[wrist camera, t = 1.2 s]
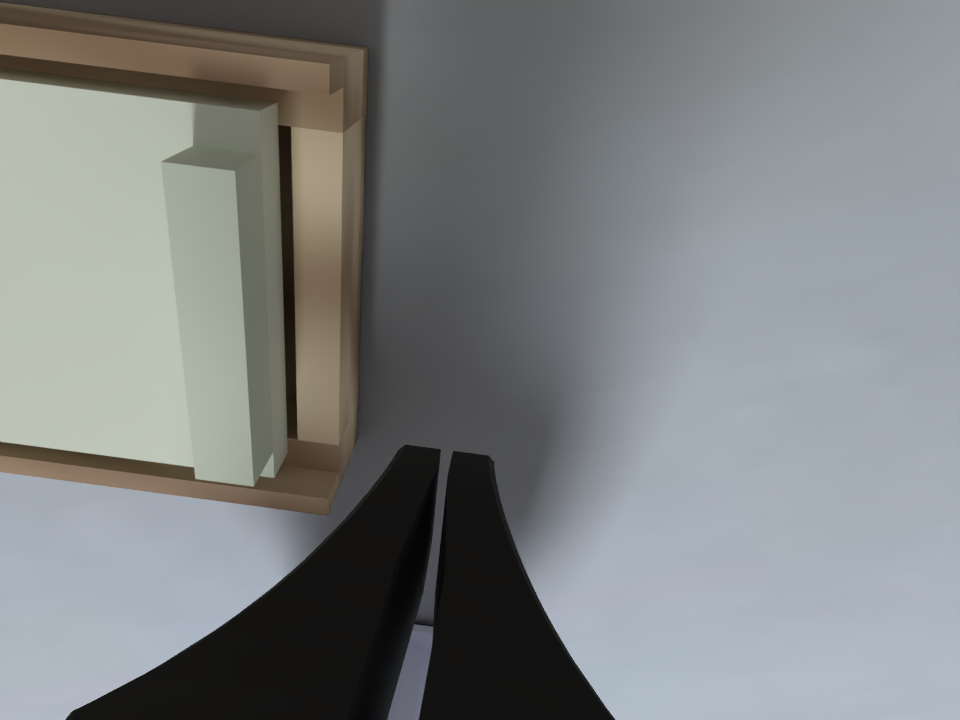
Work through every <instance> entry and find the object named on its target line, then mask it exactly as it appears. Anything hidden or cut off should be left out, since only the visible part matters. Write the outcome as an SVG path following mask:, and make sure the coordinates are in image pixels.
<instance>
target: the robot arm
mask: <svg viewBox="0 0 960 720" xmlns="http://www.w3.org/2000/svg"><path fill="white" fill-rule="evenodd" d="M440 453H441V449H434V448H426V447H419V446H411V445H405V446H403V447H402V448H400V449H399V450H398V452H397V453H396V455H395V457H394V458H393V460H392V461H391V463H390V464H389V466H388V467H387V468H386V470H385V471H384V472H383V474H382V475H381V477H380V478H379V479H378V480H377V482H376V483H375V484H374V485H373V487H372V488H371V489H370V491H369V492H368V493H367V494H366V495H365V496H364V498H363V499H362V500H361V501H360V502H359V503H358V505H357V506H356V507H355V508H354V509H353V510H352V512H351V513H350V514H349V515H348V516H347V517H346V518H345V520H344V521H343V522H342V523H341V524H340V525H339V526H338V527H337V528H336V529H335V530H334V531H333V532H332V533H331V534H330V535H329V536H328V537H327V538H326V539H325V540H324V541H323V542H322V543H321V544H320V545H319V546H318V547H317V548H316V549H315V550H314V551H313V552H312V553H311V554H310V555H309V556H308V557H307V558H306V559H305V560H304V561H303V562H301V563H300V564H299V565H298V566H297V567H296V568H295V569H294V570H293V571H291V572H290V573H289V574H288V575H287V576H286V577H284V578H283V579H282V580H281V581H280V582H278V583H277V584H276V585H275V586H274V587H273V588H271V589H270V590H269V591H268V592H266V593H265V594H264V595H262V596H261V597H260V598H258V599H257V600H256V601H255V602H253V603H252V604H251V605H249V606H248V607H247V608H245V609H244V610H243V611H241V612H240V613H239V614H237V615H236V616H235V617H233V618H232V619H231V620H229V621H228V622H226V623H225V624H223V625H222V626H221V627H219V628H218V629H216V630H215V631H213V632H212V633H210V634H209V635H207V636H205V637H204V638H202V639H201V640H199V641H198V642H196V643H194V644H193V645H191V646H190V647H188V648H186V649H185V650H183V651H182V652H180V653H179V654H177V655H175V656H174V657H172V658H171V659H169V660H168V661H166V662H164V663H163V664H161V665H159V666H158V667H156V668H154V669H153V670H151V671H149V672H147V673H146V674H144V675H142V676H140V677H138V678H136V679H134V680H132V681H130V682H129V683H127V684H125V685H123V686H121V687H119V688H117V689H115V690H113V691H111V692H109V693H108V694H106V695H104V696H102V697H100V698H98V699H96V700H94V701H92V702H90V703H88V704H86V705H84V706H82V707H80V708H78V709H76V710H74V711H72V712H71V713H70V715H69V716H68V717H67V718H66V720H615V718H614V717H613V716H612V715H611V713H610V712H609V711H608V709H607V708H606V707H605V705H604V704H603V702H602V701H601V700H600V698H599V697H598V695H597V694H596V692H595V691H594V689H593V688H592V686H591V685H590V684H589V682H588V681H587V679H586V678H585V676H584V675H583V673H582V672H581V671H580V669H579V668H578V666H577V665H576V663H575V662H574V660H573V659H572V657H571V656H570V654H569V652H568V651H567V649H566V647H565V646H564V644H563V642H562V641H561V639H560V637H559V636H558V634H557V632H556V630H555V629H554V627H553V625H552V623H551V621H550V620H549V618H548V616H547V614H546V612H545V610H544V608H543V607H542V605H541V603H540V601H539V599H538V597H537V595H536V592H535V590H534V588H533V586H532V584H531V582H530V580H529V577H528V575H527V573H526V570H525V568H524V566H523V564H522V561H521V559H520V556H519V554H518V551H517V549H516V546H515V543H514V541H513V538H512V535H511V532H510V529H509V526H508V524H507V521H506V518H505V514H504V511H503V508H502V504H501V500H500V496H499V492H498V488H497V483H496V478H495V470H494V461H493V460H492V459H491V458H490V457H489V456H487V455H479V454H472V453H464V452H457V451H453V454H452V459H451V463H450V468H449V472H448V478H447V488H446V497H445V507H444V516H443V525H442V535H441V544H440V554H439V563H438V572H437V582H436V591H435V605H434V622H433V627H431V626H423V625H416V624H414V623H415V619H416V616H417V612H418V609H419V605H420V602H421V598H422V594H423V590H424V584H425V578H426V572H427V566H428V560H429V554H430V549H431V543H432V535H433V524H434V514H435V504H436V494H437V484H438V473H439V463H440Z"/></svg>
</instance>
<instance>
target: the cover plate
mask: <svg viewBox="0 0 960 720" xmlns="http://www.w3.org/2000/svg"><path fill="white" fill-rule="evenodd" d="M0 442H7V443H14V444H22V445H29V446H37V447H44V448H52V449H59V450H67V451H74V452H82V453H89V454H97V455H105V456H112V457H120V458H127V459H135V460H142V461H150V462H157V463H165V464H172V465H180V466H187V467H194V471H195V479H200V480H207V481H215V482H222V483H230V484H237V485H245V486H252V487H254V486H255V484H256V482H257V480H258V478H259V477H260V476H263V477H270V478H275V476H276V474H277V472H278V470H279V468H280V466H281V465H282V463H283V461H284V459H285V457H286V455H287V453H288V441H287V407H286V373H285V339H284V305H283V271H282V237H281V203H280V169H279V135H278V102H271V101H263V100H255V99H247V98H239V97H231V96H223V95H215V94H207V93H199V92H191V91H183V90H175V89H167V88H159V87H151V86H143V85H135V84H127V83H119V82H111V81H103V80H95V79H87V78H79V77H71V76H63V75H55V74H47V73H39V72H31V71H23V70H15V69H7V68H0Z"/></svg>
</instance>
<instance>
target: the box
mask: <svg viewBox="0 0 960 720" xmlns="http://www.w3.org/2000/svg"><path fill="white" fill-rule="evenodd" d="M0 68H7V69H15V70H23V71H31V72H39V73H47V74H55V75H63V76H71V77H79V78H87V79H95V80H103V81H111V82H119V83H127V84H135V85H143V86H151V87H159V88H167V89H175V90H183V91H191V92H199V93H207V94H215V95H223V96H231V97H239V98H247V99H255V100H263V101H271V102H278V135H279V169H280V203H281V237H282V271H283V305H284V339H285V373H286V407H287V441H288V453H287V455H286V457H285V459H284V461H283V463H282V465H281V466H280V468H279V470H278V472H277V474H276V476H275V478H270V477H263V476H260V477H259V478H258V480H257V482H256V484H255V486H254V487H252V486H245V485H237V484H230V483H222V482H215V481H207V480H200V479H195V471H194V467H187V466H180V465H172V464H165V463H157V462H150V461H142V460H135V459H127V458H120V457H112V456H105V455H97V454H89V453H82V452H74V451H67V450H59V449H52V448H44V447H37V446H29V445H22V444H14V443H7V442H0V472H5V473H12V474H20V475H28V476H35V477H43V478H50V479H58V480H65V481H73V482H80V483H88V484H95V485H103V486H110V487H118V488H125V489H133V490H140V491H148V492H155V493H163V494H170V495H178V496H185V497H193V498H200V499H208V500H215V501H223V502H230V503H238V504H245V505H253V506H260V507H268V508H275V509H283V510H290V511H298V512H305V513H313V514H320V515H328V514H329V511H330V508H331V506H332V503H333V501H334V498H335V496H336V493H337V491H338V488H339V485H340V483H341V480H342V478H343V475H344V473H345V470H346V468H347V465H348V463H349V460H350V457H351V455H352V452H353V450H354V447H355V445H356V442H357V424H358V389H359V353H360V318H361V282H362V247H363V211H364V176H365V140H366V105H367V69H368V48H367V47H359V46H351V45H343V44H334V43H326V42H318V41H310V40H302V39H294V38H286V37H278V36H270V35H262V34H254V33H246V32H237V31H229V30H221V29H213V28H205V27H197V26H189V25H181V24H173V23H165V22H157V21H148V20H140V19H132V18H124V17H116V16H108V15H100V14H92V13H84V12H76V11H68V10H60V9H51V8H43V7H35V6H27V5H19V4H11V3H3V2H0Z"/></svg>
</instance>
